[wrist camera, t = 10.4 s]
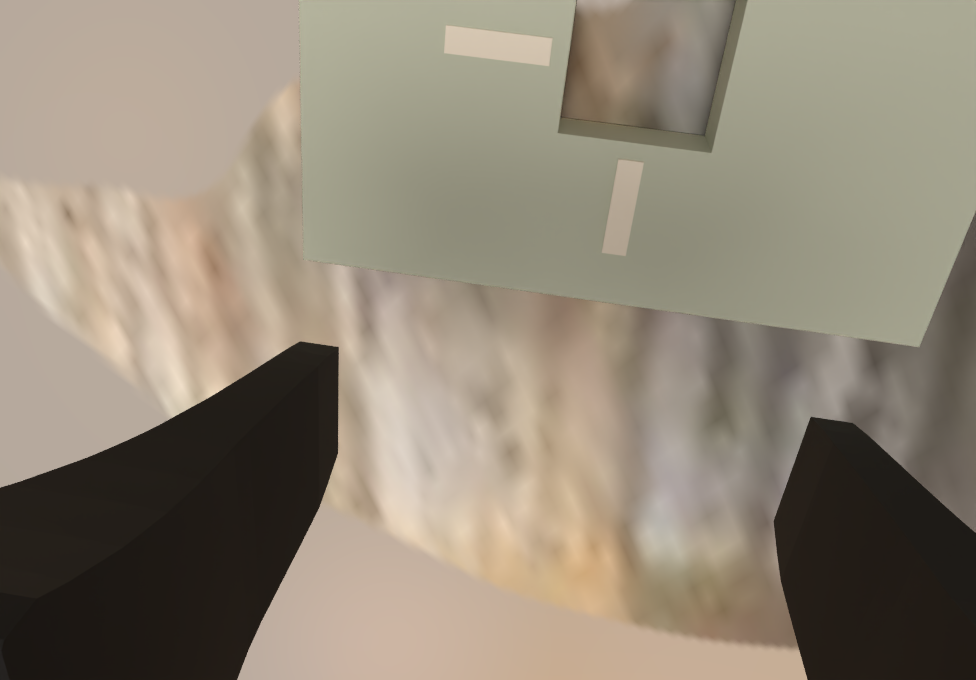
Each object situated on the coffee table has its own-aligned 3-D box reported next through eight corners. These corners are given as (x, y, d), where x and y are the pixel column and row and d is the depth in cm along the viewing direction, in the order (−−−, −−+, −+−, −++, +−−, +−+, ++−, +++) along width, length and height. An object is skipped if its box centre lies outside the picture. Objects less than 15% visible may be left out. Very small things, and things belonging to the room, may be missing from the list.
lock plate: (1111, -216, 16) (1158, -225, 15) (900, 319, 22) (920, 349, 21) (316, -296, 17) (291, -310, 16) (320, 238, 23) (302, 261, 22)
